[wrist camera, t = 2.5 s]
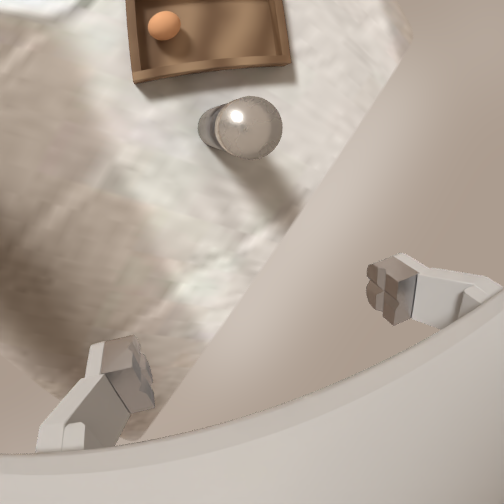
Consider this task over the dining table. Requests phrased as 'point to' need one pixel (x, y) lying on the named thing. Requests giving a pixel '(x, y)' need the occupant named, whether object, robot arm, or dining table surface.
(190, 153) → the dining table surface
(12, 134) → the dining table surface
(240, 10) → the tray
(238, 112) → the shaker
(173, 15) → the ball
